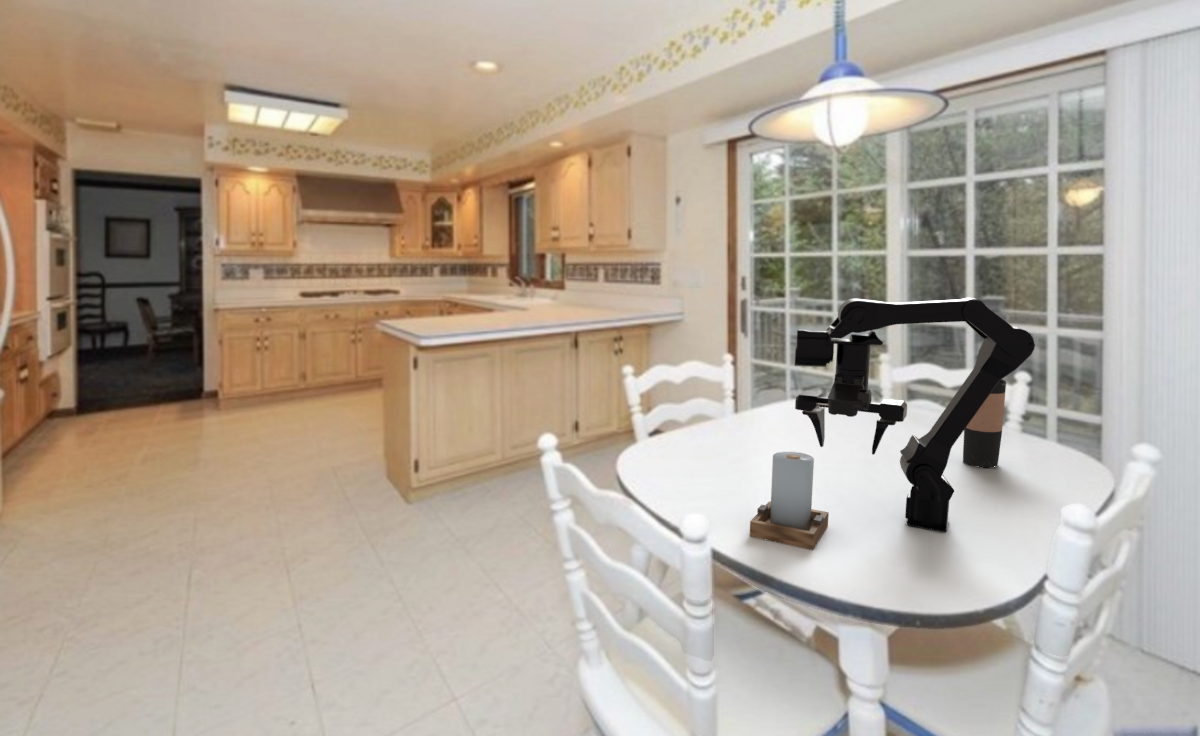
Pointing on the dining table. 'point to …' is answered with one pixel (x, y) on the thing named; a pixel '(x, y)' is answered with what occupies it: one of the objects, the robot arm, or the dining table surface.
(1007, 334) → the robot arm
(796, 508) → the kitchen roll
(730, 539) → the dining table surface
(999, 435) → the travel mug
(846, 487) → the dining table surface
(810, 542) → the square wooden tray
